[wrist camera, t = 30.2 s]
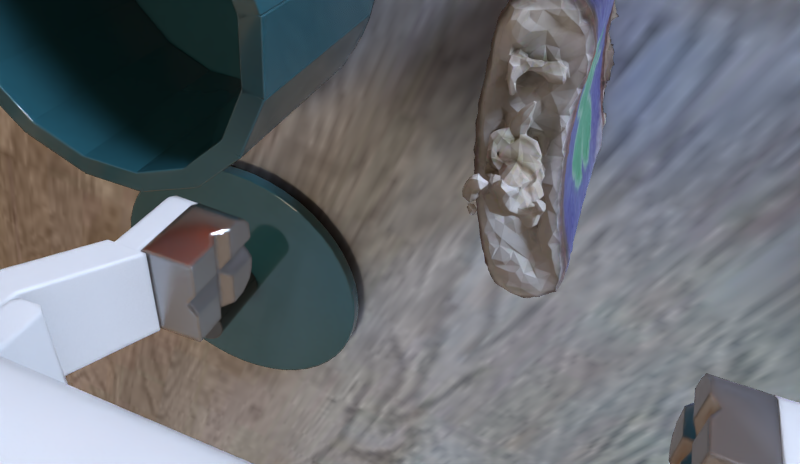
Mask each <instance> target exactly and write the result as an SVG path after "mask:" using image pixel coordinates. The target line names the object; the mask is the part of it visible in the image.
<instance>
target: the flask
mask: <svg viewBox="0 0 800 464" xmlns="http://www.w3.org/2000/svg"><path fill="white" fill-rule="evenodd" d="M614 1H615V0H509V2H508V4H507V5H506V7H505V8H504V9H503V10H502V11H501V13H500V15H499V17H498V21H497V25H496V29H495V32H494V35H493V38H492V42H491V51H490V55H489V58H488V60H487V66H486V73H485V78H484V82H483V87H482V91H481V94H480V98H479V102H478V114H477V119H476V142H475V146H474V153H475V159H474V167H475V170H474V175H473V176H471V177H470V178H469V179H468V180H467V181H466V183H465V185H464V188H463V190H462V195H463V197H464V198H465V199H466V200H467V201H468V202H471V201H474V200H475V199H476V203H477V210H476V207H475V205H474V204H470V203H469V204H468V206H467V208H468V211H469V213H470V215H474V214H475V213H476V211H477V214H478V220H479V229H480V238H481V244H482V249H483V252H484V257H485V263H486V264H487V266H488V270H489V272H490V275H491V277H492V279H493V280H494V282H495V283H496V284H497V285H499V286H501V287H502V288H504V289H506V290H507V291H509V292H510V293H513V294H515V295H518V296H520V297H523V298H531V297H540V296H543V295H546V294H549V293H551V292H556V291H557V289H558V287H559V286H560V284H561V282H562V280H563V278H564V276H565V273H566V271H567V268H568V265H569V260H570V254H571V252H572V247H573V241H574V237H575V233H576V229H577V225H578V221H579V217H580V214H581V209H582V204H583V201H584V198H585V195H586V190H587V187H588V184H589V181H590V178H591V174H592V171H593V167H594V164H595V161H596V156H597V154H598V152H599V150H600V148H601V144H602V129H603V127H604V125H605V123H606V119H605V118H606V113H603V106H602V103H603V98H604V94H605V92H604V89H605V88H606V83H607V82H606V81H608V80H610V70H611V67H612V66H613V65H614V62H613V54H614V49H613V47H612V46H613V44H610V43H611V39H610V35H609V33H608V32H609V28H610V25H611V21H612V20H614V19H615V18H616V17H618V14H617V13H616V8H615V2H614Z"/></svg>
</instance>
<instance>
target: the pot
mask: <svg viewBox="0 0 800 464" xmlns="http://www.w3.org/2000/svg"><path fill="white" fill-rule="evenodd" d="M373 4H374V0H0V106H1V107H2V108H3V109H4V110H5V111H6V112H7V113H8V114H9V116H10V117H11V118H12V119H13V120H14V121H15V122H16V123H17V124H18V125H19V126H20V127H21V128H22V129H23V130H24V132H26V133H28V135H30V136H31V137H33V138H34V139H36V140H37V141H39V142H40V143H42V144H43V145H45V146H46V147H48V148H49V149H50V150H52V151H53V152H55V153H56V154H58V155H59V156H61V157H62V158H64V159H65V160H67V161H68V162H70V163H71V164H73V165H74V166H76V167H77V168H78V169H80V170H81V171H83V172H85V173H86V174H89V175H92V176H95V177H98V178H101V179H104V180H107V181H110V182H113V183H116V184H119V185H122V186H125V187H128V188H131V189H134V190H137V191H140V192H143V191H144V192H149V191H163V190H176V189H190V188H198V187H200V186H201V185H203V184H204V183H206V182H207V181H209V180H210V179H211V178H213V177H214V176H216V175H217V174H219V173H220V172H221V171H223V170H224V169H226V168H227V167H229V166H230V165H231V164H233V163H234V162H236V161H237V160H239V159H240V158H241V157H242V156H243V155H244V154H246V153H247V152H248V151H249V150H250V149H251V148H252V147H253V146H254V145H256V144H257V143H258V142H259V141H260V140H261V139H262V138H263V137H265V136H266V135H267V134H268V133H269V132H270V131H271V130H272V129H273V128H275V127H276V126H277V125H278V124H279V123H280V122H281V121H282V120H283V119H285V118H286V117H287V116H288V115H289V114H290V113H291V112H292V111H293V110H295V109H296V108H297V107H298V106H299V105H300V104H301V103H302V102H303V101H305V100H306V99H307V98H308V97H309V96H310V95H311V94H312V93H313V92H315V91H316V90H317V89H318V88H319V87H320V86H321V85H322V84H324V83H325V82H326V81H327V80H328V79H329V78H330V77H331V76H332V75H334V74H335V73H336V72H337V71H338V70H339V69H340V68H341V67H342V66H344V64H345V63H346V61H347V59H348V57H349V55H350V54H351V53H352V51H353V50H354V48H355V47H356V45H357V43H358V42H359V40H360V38H361V37H362V35H363V33H364V30H365V28H366V25H367V23H368V21H369V18H370V15H371V11H372V7H373Z"/></svg>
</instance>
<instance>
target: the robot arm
mask: <svg viewBox="0 0 800 464" xmlns="http://www.w3.org/2000/svg"><path fill="white" fill-rule="evenodd" d="M249 239H250V228H249V223H248V222H247V221H245V220H244V219H242V218H239V217H236V216H233V215H230V214H228V213H225V212H222V211H219V210H217V209H214V208H211V207H208V206H206V205H203V204H200V203H195V202H193V201H190V200H187V199H185V198H182V197H179V196H177V195H176V196H172V197H168V198H167V199H165V200H164V201H163V202H162V203H161V204H159V205H158V206H157V207H156V208H155V209H153V210H152V211H151V212H150V213H149V214H147V215H146V216H145V217H144V218H143V219H141V220H140V221H139V222H138V223H137V224H135V225H134V226H133V227H132V228H131V229H129V230H128V231H127V232H126V233H125V234H123V235H122V236H121V237H120V238H119V239H117V240H116V241H115V242H113V241H110V240H105V241H101V242H97V243H94V244H90V245H87V246H83V247H79V248H76V249H72V250H69V251H65V252H61V253H58V254H54V255H51V256H47V257H43V258H40V259H36V260H33V261H29V262H25V263H22V264H18V265H15V266H11V267H7V268H4V269H0V464H253V463H251V462H248V461H246V460H244V459H241V458H239V457H236V456H234V455H232V454H229V453H227V452H225V451H222V450H220V449H218V448H215V447H213V446H211V445H208V444H206V443H204V442H201V441H199V440H197V439H194V438H192V437H189V436H187V435H185V434H182V433H180V432H178V431H175V430H173V429H171V428H168V427H166V426H164V425H161V424H159V423H157V422H154V421H152V420H150V419H147V418H145V417H142V416H140V415H138V414H135V413H133V412H131V411H128V410H126V409H124V408H121V407H119V406H117V405H114V404H112V403H110V402H107V401H105V400H103V399H100V398H98V397H95V396H93V395H91V394H88V393H86V392H84V391H81V390H79V389H77V388H74V387H72V386H70V385H68V383H67V381H66V378H65V376H66V375H68V374H70V373H72V372H74V371H76V370H79V369H81V368H83V367H85V366H87V365H89V364H91V363H93V362H95V361H97V360H99V359H101V358H103V357H106V356H108V355H110V354H112V353H114V352H116V351H118V350H120V349H122V348H124V347H126V346H128V345H130V344H133V343H135V342H137V341H139V340H141V339H143V338H145V337H147V336H149V335H151V334H153V333H155V332H158V331H160V328H162V329H165V330H168V331H171V332H174V333H176V334H179V335H182V336H185V337H188V338H191V339H193V340H196V341H199V342H201V341H202V340H203V339H204V338H205V336H206V335H207V334H208V333H209V332H210V331H211V329H212V328H213V327H214V326H215V325H216V324H217V323H218V321H219V320H220V319H221V307H223V306H226V305H229V304H231V303H234V302H235V301H236V300H237V299H238V298H239V297H240V295H241V294H242V293H243V292H244V289H245V287H246V285H247V283H248V281H249V279H250V274H251V269H252V256H251V254H250V253H249V251H248V250H247V248H246V247H245V245H244V244H245V243H246V242H247V241H248V240H249ZM669 462H670V464H800V403H798V402H795V401H792V400H789V399H786V398H783V397H780V396H776V395H772V394H769V393H766V392H763V391H760V390H757V389H754V388H751V387H748V386H745V385H742V384H738V383H735V382H732V381H729V380H726V379H723V378H720V377H717V376H714V375H711V374H708V373H706V374H705V375H704V376H703V377H702V378H701V380H700V381H699V383H698V385H697V386H696V388H695V400H694V403H692V404H689V405H686V406H685V407H684V409H683V411H682V412H681V414H680V416H679V418H678V420H677V423H676V426H675V429H674V432H673V435H672V439H671V445H670V452H669Z"/></svg>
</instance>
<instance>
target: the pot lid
mask: <svg viewBox="0 0 800 464" xmlns="http://www.w3.org/2000/svg"><path fill="white" fill-rule="evenodd" d="M176 195H177V196H179V197H182V198H185V199H187V200H190V201H193V202H195V203H200V204H203V205H206V206H208V207H211V208H214V209H217V210H219V211H222V212H225V213H228V214H230V215H233V216H236V217H239V218H242V219H244V220H245V221H247V222H248V223H249V228H250V239H249V240H248V241H247V242H246V243H245V244H244V245H245V247H246V248H247V250H248V251H249V253H250V254H251V256H252V269H251V274H250V279H249V281H248V283H247V285H246V287H245V289H244V292H243V293H242V294H241V295H240V297H239V298H238V299H237V300H236V301H235V302H234V303H231V304H229V305H226V306H223V307H221V319H220V320H219V321H218V323H217V324H216V325H215V326H214V327H213V328H212V329H211V331H210V332H209V333H208V334H207V335H206V336H205V338H204V339H205V340H206V341H208V342H209V343H211V344H212V345H214V346H216V347H217V348H219V349H221V350H223V351H225V352H227V353H228V354H230V355H232V356H235V357H237V358H239V359H242V360H244V361H247V362H250V363H253V364H256V365H259V366H264V367H268V368H273V369H281V370H300V369H308V368H312V367H316V366H319V365H321V364H323V363H325V362H328V361H329V360H331V359H332V358H333V357H335V356H336V355H337V354H338V353H339V352H340V351H341V350H342V349H343V348H344V347H345V345H346V343H347V342H348V340H349V339H350V337H351V335H352V334H353V331H354V328H355V326H356V322H357V316H358V295H357V289H356V284H355V281H354V277H353V274H352V271H351V269H350V267H349V265H348V262H347V260H346V258H345V256H344V254H343V253H342V251H341V249H340V248H339V246H338V244H337V243H336V241H335V240H334V239H333V237H332V236H331V235H330V233H329V232H328V231H327V229H326V228H325V227H324V226H323V225H322V224H321V222H320V221H319V220H318V219H317V218H316V217H315V216H314V215H313V214H312V213H311V212H310V211H309V210H308V209H307V208H305V207H304V206H303V205H302V204H301V203H300V202H299V201H297V200H296V199H295V198H293V197H292V196H291V195H289V194H288V193H287V192H285V191H284V190H282V189H281V188H279V187H277V186H276V185H274V184H272V183H271V182H269V181H267V180H265V179H263V178H261V177H259V176H257V175H255V174H253V173H250V172H247V171H245V170H242V169H239V168H236V167H232V166H229V167H227V168H226V169H224V170H223V171H221V172H220V173H219V174H217V175H216V176H214V177H213V178H211V179H210V180H209V181H207V182H206V183H204V184H203V185H201V186H200V187H198V188H190V189H176V190H163V191H149V192H144V191H143V192H140V193H139V194H138V196H137V198H136V201H135V203H134V206H133V210H132V216H131V228H132V227H133V226H134V225H135V224H137V223H138V222H139V221H140V220H141V219H143V218H144V217H145V216H146V215H147V214H149V213H150V212H151V211H152V210H153V209H155V208H156V207H157V206H158V205H159V204H161V203H162V202H163V201H164V200H165V199H167V198H168V197H172V196H176Z"/></svg>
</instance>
